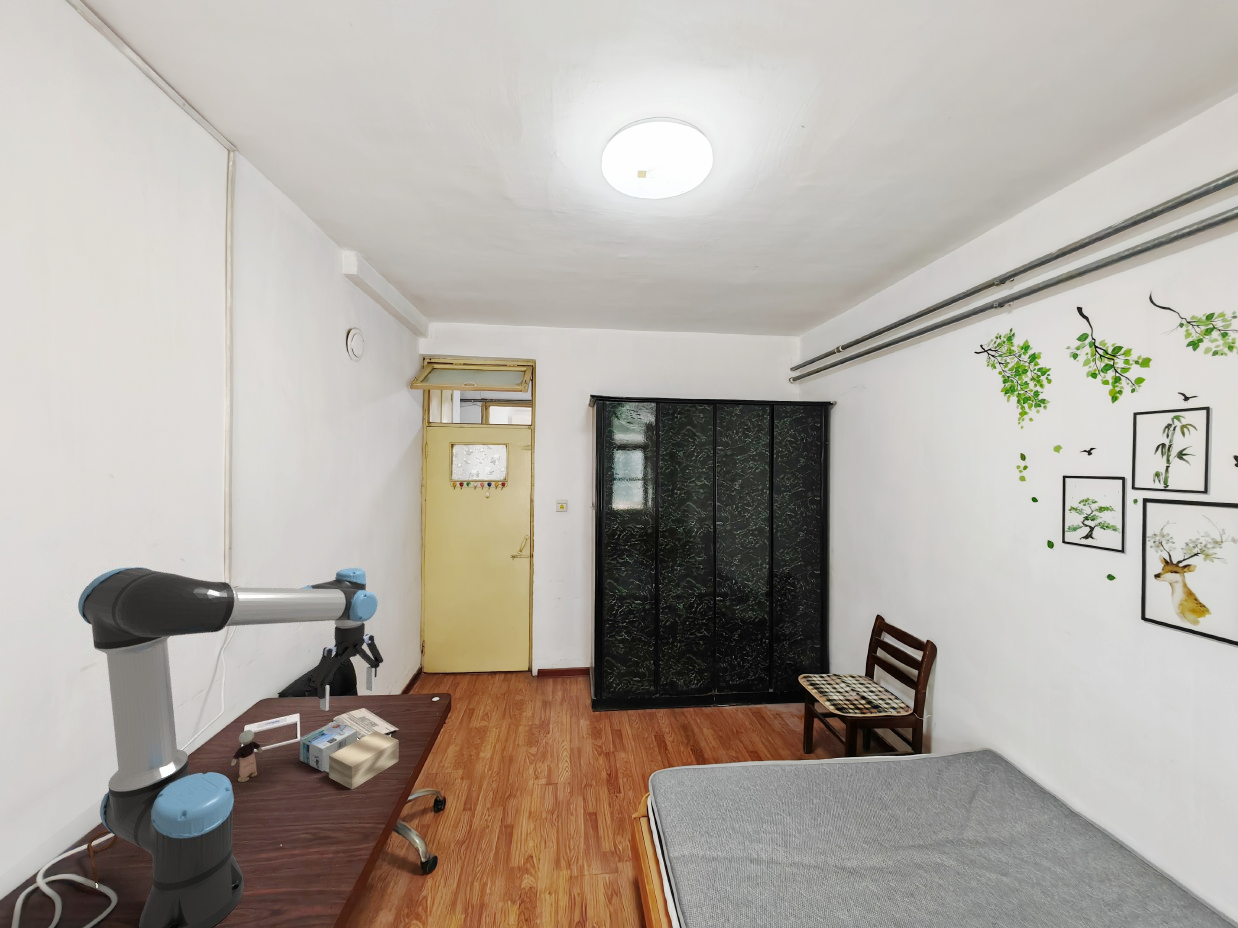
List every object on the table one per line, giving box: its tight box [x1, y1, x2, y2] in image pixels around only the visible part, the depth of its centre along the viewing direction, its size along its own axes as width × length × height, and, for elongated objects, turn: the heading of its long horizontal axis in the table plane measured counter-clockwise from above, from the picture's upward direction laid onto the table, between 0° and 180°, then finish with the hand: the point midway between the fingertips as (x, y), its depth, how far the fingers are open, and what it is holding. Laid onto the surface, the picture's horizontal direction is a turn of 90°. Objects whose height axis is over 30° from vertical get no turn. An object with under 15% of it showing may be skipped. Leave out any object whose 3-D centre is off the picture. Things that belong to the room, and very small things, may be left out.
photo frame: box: [240, 713, 301, 753], centre depth 155 cm, size 15×1×18 cm
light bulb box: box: [299, 720, 357, 772], centre depth 143 cm, size 11×7×11 cm
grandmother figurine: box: [230, 730, 264, 783], centre depth 134 cm, size 8×4×13 cm, turn 168°
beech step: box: [328, 731, 400, 790], centre depth 139 cm, size 14×10×6 cm
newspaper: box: [328, 707, 400, 739], centre depth 159 cm, size 23×12×2 cm, turn 53°
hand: (348, 699), depth 141 cm, fingers open, 13 cm apart
